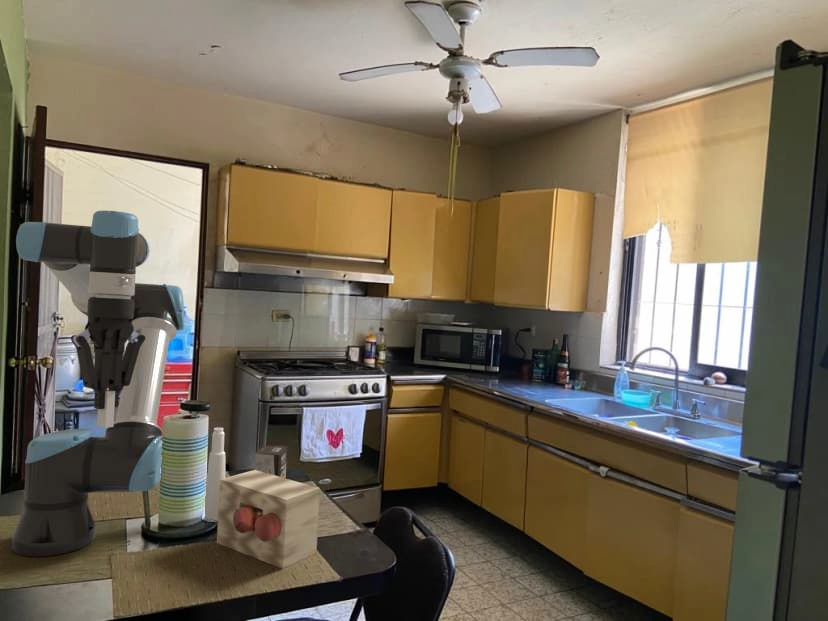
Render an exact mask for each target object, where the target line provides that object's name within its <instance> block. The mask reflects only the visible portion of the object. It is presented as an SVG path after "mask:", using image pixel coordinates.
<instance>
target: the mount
mask: <svg viewBox="0 0 828 621" xmlns="http://www.w3.org/2000/svg"><path fill="white" fill-rule="evenodd" d="M320 489H321V488H320V487H318V486H314V485H310V484H306V483H304V482H299V481H295V480H292V479H289V478H282V477H278V476H275V475H271V474H268V473H264V472H261V471H257V470H254V469H253V470H249V471H246V472H245V471H244V472H243V473H238V474H235V475H231V476H228V477H227V476H226V477H225V478H223V479H220V491H219V510H218V522H217V529H216V530H217V532H216V543H217V544H218V543H219V545H221V546H224V547H226V546H227V547H226V548H229V549H232V550H234V551H236V552H239V553H242V554H244V555H247V556H249V557H251V556H252V558H254V559H257V560H259V561H262V562H265V563H267V564H268V565H269V564H270V565H272V566H274V567H277V568H279V569H282V570H283V569H286V568H288V567H290V566H292V565H294V564H296V563H298V562H301V561H302V560H304V559H306V558H308V557H310V556H313V555H314V554H316V553H317V551H318V550H317V547H318V532H319V528H318V527H319V514H320V512H319V508H320V493H321V492H320ZM248 505H250V506H253V507H254V508H260V509H263V516H260V517H258V518H257V520H256V522H255V529H253V530H251V531H248V532H246V533H240V532H238V531H237V530H236V528H235V526H234V523H233V515H234V512H235V511H236V510H237V509H239V508H242V507H245V506H248Z"/></svg>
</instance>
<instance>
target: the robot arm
mask: <svg viewBox="0 0 828 621" xmlns="http://www.w3.org/2000/svg"><path fill="white" fill-rule="evenodd" d="M15 243H16V244H15V245H16V251H17V253H18V257H19V258H21V259H22V260H23V261H30V262H34V263H43V264H44V265H46V267H47V268H48V269H49V270H50V271H51V273H52V274H53V275H54V276H55V277H56V279H58V281H59V282H60V283H61V284H62V286H63V287H64V288H65V289H66V290H67V291H68V293H69V294H70V298H71V302H72V303H73V305H74V306H75V308H76V309H77V310H78V311H79V312H81V313H82V314H83V315H85V316H86V317H87V322H86V324H85V327H84V330H83V331H82V332H80V333H79V334H73V335H71V337H70V341H71V342H72V344H73V345H74V347H75V349H76V354H77V359H78V364H79V369H80V374H81V379H82V384H83V386H84V388H87V389H90V390H93V392H94V400H93V406H94V409H97V418H96V419H97V421H96V422H97V423H96V426H98V427H101V428H104V429H106V430H105V435H104V436H93V433H92V430H90V429H89V428H70V429H63V430H57V431H53V432H50V433H45V434H42V435H39V436H37V437H35V438H34V439H32V440H31V441H30V442H29V443H28V445H27V451H26V459H25V460H24V463H25V473H24V474H25V479H24V501H23V502H24V503H23V504H24V505H23V510H22V513H21V516H20V517H19V518H20V519H19V521H18V523H17V525H16V527H15V530H14V533H13V534H12V539H11V549H12V551H13V552H14V553H15V554H18V555H21V556H27V557H28V556H29V557H48V556H56V555H57V556H58V555H63V554H66V553H70V552H73V551H76V550H77V551H78V550H79V549H81V548H84V547H86V546H88V545H89V544H91V543H93V541H94V540H95V538H96V523H95V520H94V517H93V515H92V511H91V508H90V505H89V494H91V493H94V494H95V493H136V492H146V491H151V490H153V489H155V488H156V487H157V485H158V484H159V483H160V480H161V478H162V476H161V473H160V468H161V456H162V455H161V453H162V443H163V441H162V436H163V433H162V432H163V430H162V428H161V427H160V426H159V425H158V417H159V413H160V412H159V411H160V410H159V409H160V403H161V399H162V398H161V397H162V389H163V384H164V378H165V371H166V364H167V359H168V358H167V357H168V350H169V346H170V341H173V340H174V339H176V336H177V335H178V334H177V333H178V331H183V330H185V308H184V304H185V303H184V296H183V290H182V288H181V287H179V286H178V285H171V284H166V283H163V284H153V283H141V282H139V283H138V282H136V268H137V267H140V266H142V265H143V264H144V263H145V262H146V261H147V260H148V259H149V256H150V245H149V242H148V240H147V239H146V238H145V237H144V235H143V234H142V233H140V228H139V219H138V217H137V216H136V215H135V214H133V213H130V212H125V211H118V210H117V211H116V210H97V211H95V212H94V213H93V214H92V222H91V225H80V224H78V225H77V224H67V223H66V224H65V223H55V222H53V223H52V222H46V221H41V222H40V221H36V222H35V221H25V222H23V223H22V224H21V225H20V226H19V228H18V230H17V233H16V238H15ZM127 341H128V342H127ZM91 342H92V344H93V352H94V359H93V355H92V349H91V346H90V343H91ZM126 342H127V344H126ZM125 344H126V346H125ZM115 408H118V409H117V413H116V418H115ZM114 420H115V421H114Z"/></svg>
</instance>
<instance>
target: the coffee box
mask: <svg viewBox="0 0 828 621" xmlns="http://www.w3.org/2000/svg"><path fill="white" fill-rule="evenodd" d="M287 455H288V446H283V445H263V446H262V447H261V448H260V449H258V450H257V451H256V452H255V453H254V461H253V470H257V471H261V472H264V473H268V474H271V475H275V476H278V477H282V478H286V475H287V457H288V456H287ZM286 479H287V478H286Z"/></svg>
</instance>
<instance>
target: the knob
mask: <svg viewBox="0 0 828 621" xmlns="http://www.w3.org/2000/svg"><path fill="white" fill-rule="evenodd" d="M260 516H263V509H260V508H254V507H253V506H250V505H248V506H245V507H242V508H239V509H237V510H236V511H235V512H234V515H233V523H234V526H235V528H236V530H237V531H238V532H240V533H246V532H248V531H251V530H253V529H255V522H256V520H257V518H258V517H260Z"/></svg>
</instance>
